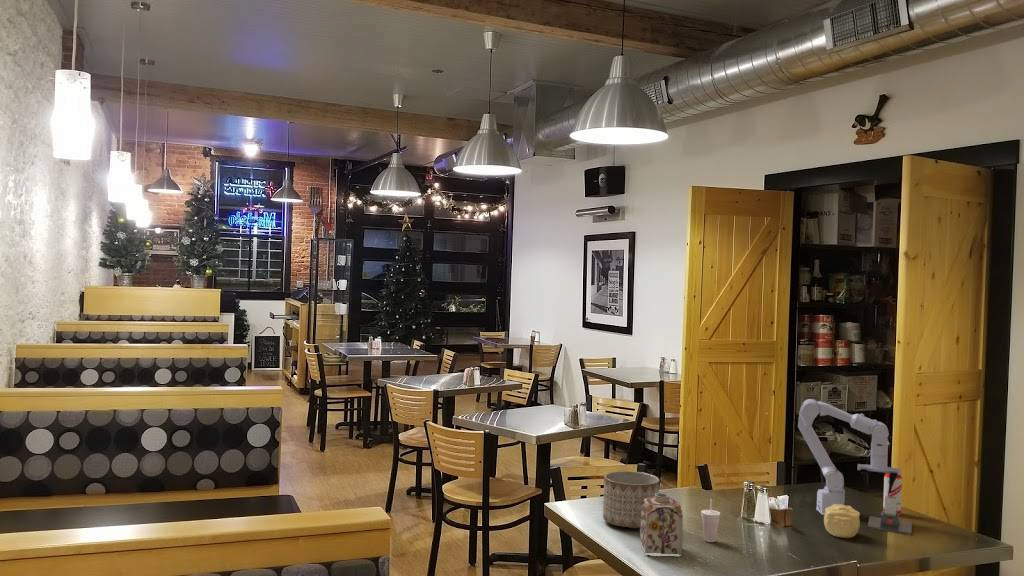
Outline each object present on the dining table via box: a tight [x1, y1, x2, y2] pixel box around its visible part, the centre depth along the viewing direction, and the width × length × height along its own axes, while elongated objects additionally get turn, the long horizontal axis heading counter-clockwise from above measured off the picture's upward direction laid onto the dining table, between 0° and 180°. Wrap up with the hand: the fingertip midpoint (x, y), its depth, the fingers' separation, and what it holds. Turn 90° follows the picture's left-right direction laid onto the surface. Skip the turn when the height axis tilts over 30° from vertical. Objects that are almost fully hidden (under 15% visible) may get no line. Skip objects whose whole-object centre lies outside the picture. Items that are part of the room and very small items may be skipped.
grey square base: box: [867, 510, 913, 536], centre depth 279 cm, size 14×14×4 cm
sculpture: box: [823, 504, 861, 539], centre depth 267 cm, size 12×12×11 cm
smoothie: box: [700, 498, 721, 541], centre depth 256 cm, size 6×6×14 cm
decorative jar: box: [639, 492, 684, 555], centre depth 245 cm, size 12×12×18 cm
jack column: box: [884, 496, 896, 517], centre depth 279 cm, size 4×4×7 cm
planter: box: [602, 470, 660, 529], centre depth 272 cm, size 19×19×16 cm
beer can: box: [882, 472, 903, 515], centre depth 295 cm, size 6×6×16 cm
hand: (878, 491), depth 288 cm, fingers open, 7 cm apart
